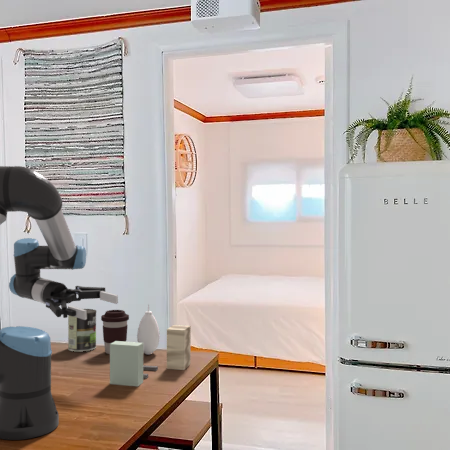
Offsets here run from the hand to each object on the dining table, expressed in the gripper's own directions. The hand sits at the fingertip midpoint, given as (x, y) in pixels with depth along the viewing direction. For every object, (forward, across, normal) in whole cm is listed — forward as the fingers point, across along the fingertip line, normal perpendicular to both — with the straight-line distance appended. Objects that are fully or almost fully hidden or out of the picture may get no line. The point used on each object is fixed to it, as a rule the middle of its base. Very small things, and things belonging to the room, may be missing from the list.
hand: (102, 307), depth 160 cm
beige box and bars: (+9, -15, -25) cm, 31 cm away
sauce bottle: (-5, -29, -30) cm, 42 cm away
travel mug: (-17, -24, -31) cm, 43 cm away
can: (-31, -22, -32) cm, 50 cm away
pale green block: (+9, 0, -22) cm, 24 cm away
